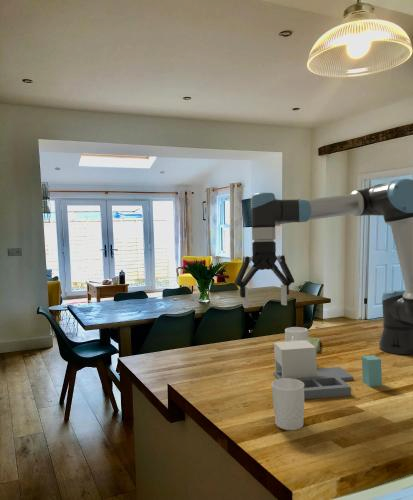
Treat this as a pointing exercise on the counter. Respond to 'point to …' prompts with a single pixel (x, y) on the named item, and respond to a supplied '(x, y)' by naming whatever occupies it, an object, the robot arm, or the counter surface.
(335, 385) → the socket board
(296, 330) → the mug
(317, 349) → the washcloth
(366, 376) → the peg
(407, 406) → the counter surface
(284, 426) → the white cup
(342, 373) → the board
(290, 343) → the cover
